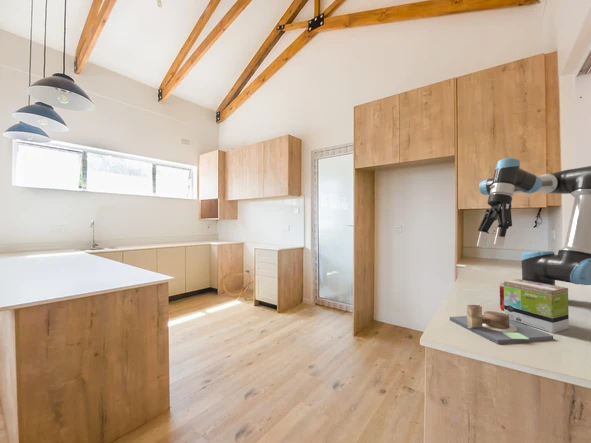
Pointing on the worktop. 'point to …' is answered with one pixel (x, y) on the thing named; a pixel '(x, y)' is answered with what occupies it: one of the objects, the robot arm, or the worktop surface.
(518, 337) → the tuner board
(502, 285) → the canned food
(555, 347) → the worktop surface
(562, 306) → the tea box
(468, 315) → the dial
